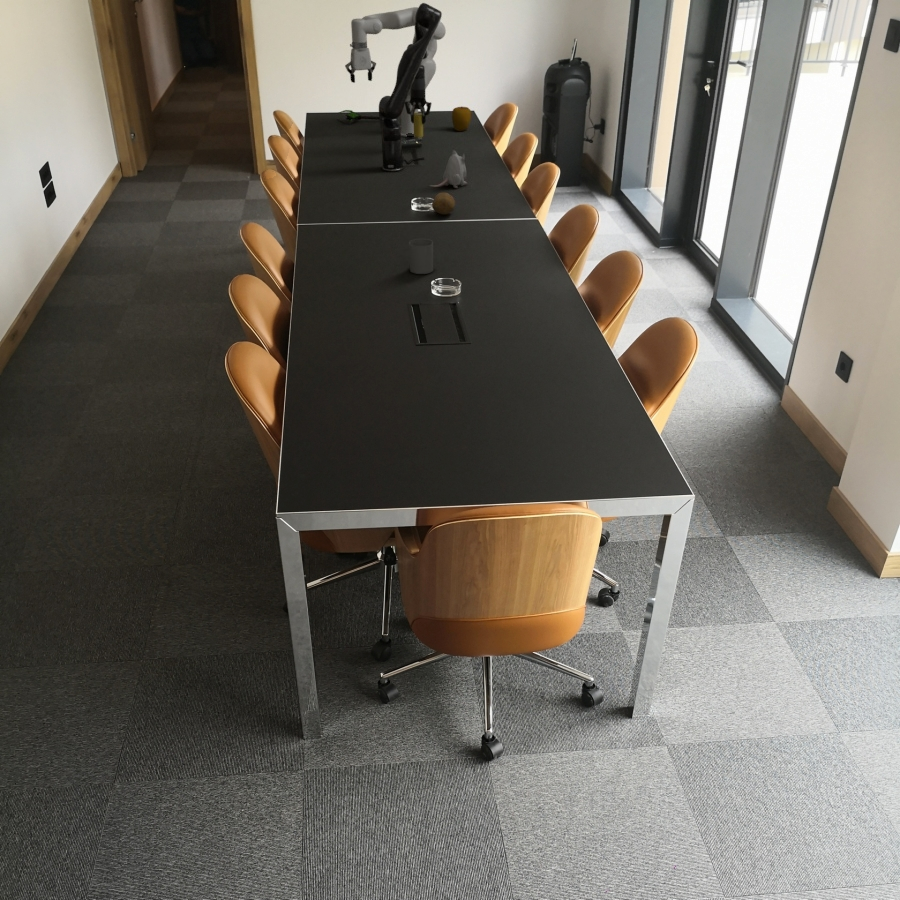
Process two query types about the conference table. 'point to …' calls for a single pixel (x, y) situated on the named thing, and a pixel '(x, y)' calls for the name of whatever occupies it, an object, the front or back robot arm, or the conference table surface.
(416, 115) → the can
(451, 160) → the toy
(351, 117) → the scepter
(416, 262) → the cup
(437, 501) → the conference table surface
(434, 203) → the potato
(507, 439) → the conference table surface
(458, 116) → the yellow rounded blob
